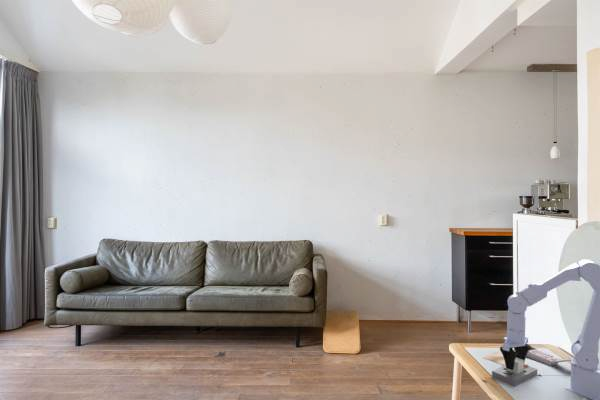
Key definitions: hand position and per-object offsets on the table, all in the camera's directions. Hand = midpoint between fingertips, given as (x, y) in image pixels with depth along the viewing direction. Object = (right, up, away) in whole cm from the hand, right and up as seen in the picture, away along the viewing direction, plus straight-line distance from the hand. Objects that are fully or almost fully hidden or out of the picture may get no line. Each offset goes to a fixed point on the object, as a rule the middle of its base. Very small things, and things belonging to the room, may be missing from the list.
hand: (514, 366), depth 137 cm
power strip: (0, -4, 0) cm, 4 cm away
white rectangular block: (0, -3, 0) cm, 3 cm away
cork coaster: (+2, -4, +14) cm, 15 cm away
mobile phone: (+19, -5, +15) cm, 25 cm away
